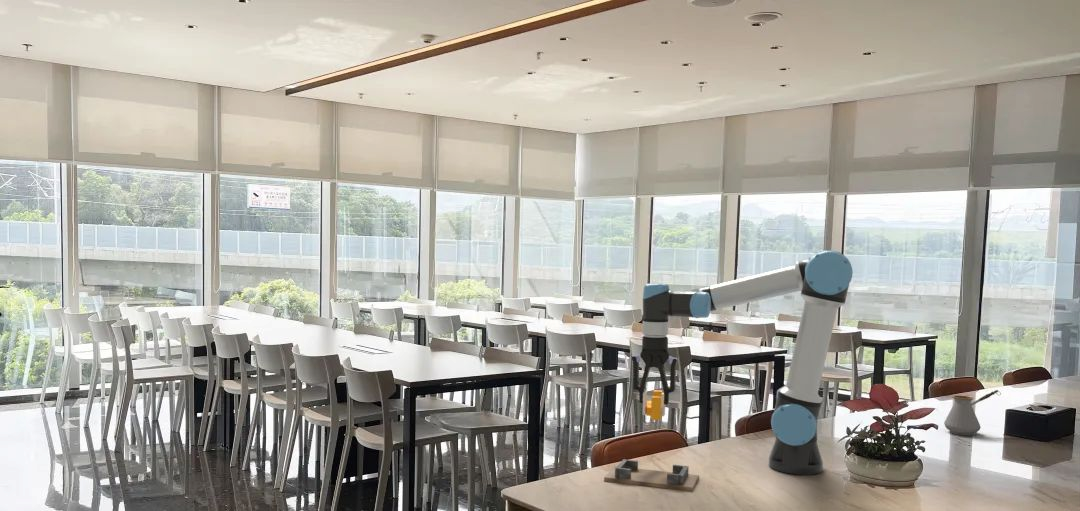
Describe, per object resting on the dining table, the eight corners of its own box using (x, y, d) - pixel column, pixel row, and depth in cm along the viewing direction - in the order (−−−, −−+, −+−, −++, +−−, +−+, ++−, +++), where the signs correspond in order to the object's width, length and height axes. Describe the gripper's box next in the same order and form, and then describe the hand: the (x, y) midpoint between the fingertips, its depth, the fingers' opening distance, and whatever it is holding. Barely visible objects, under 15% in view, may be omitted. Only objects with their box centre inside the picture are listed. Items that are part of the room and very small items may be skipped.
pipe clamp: (647, 411, 240) (647, 389, 240) (662, 411, 240) (662, 390, 240) (645, 419, 229) (645, 397, 229) (660, 420, 228) (660, 397, 228)
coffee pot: (960, 437, 275) (961, 394, 275) (936, 430, 286) (937, 388, 286) (1011, 435, 280) (1012, 392, 280) (985, 427, 292) (986, 387, 291)
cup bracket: (698, 478, 220) (699, 466, 220) (692, 491, 208) (692, 478, 208) (614, 469, 228) (614, 457, 228) (604, 480, 216) (604, 468, 216)
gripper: (687, 335, 235) (685, 414, 235) (627, 333, 240) (626, 409, 240) (683, 338, 228) (682, 419, 228) (622, 335, 233) (621, 414, 233)
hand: (653, 414), depth 234 cm, fingers closed on pipe clamp, 5 cm apart
